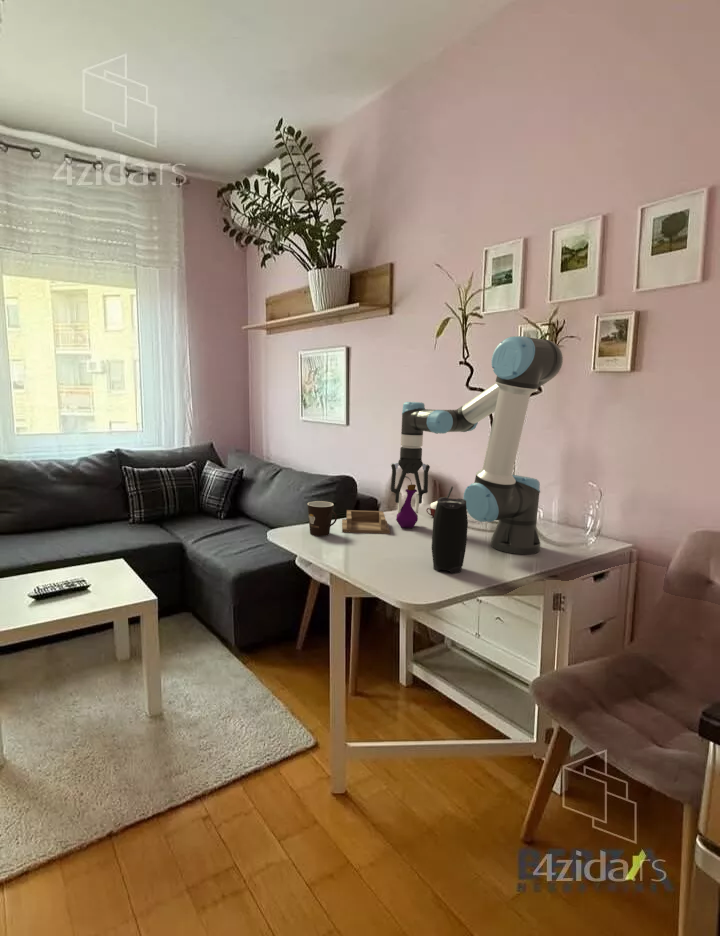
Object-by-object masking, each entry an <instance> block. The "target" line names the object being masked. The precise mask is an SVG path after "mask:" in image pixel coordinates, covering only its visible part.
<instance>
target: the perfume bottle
mask: <svg viewBox="0 0 720 936" xmlns="http://www.w3.org/2000/svg"><path fill="white" fill-rule="evenodd" d="M405 478H406V479H408V480H409V481H410V484H408V485H407V489H405V492H406V493H407V495H406V498H405V500H404V502H403V504H402V505H401V512H400V513H398V512H397V514H396V518H395V521H396V523H398V525H399V526H400V528H402V529H405V528H406V529H410V528H411V529H413V528H414V527H415V525H416V524H417V522H418V520H419V516H418V513H416V512H415V509H414V508H413V506H412V500H413V497H414V495H415V494H416V493H418V489H417V485H416V483H415V484H412V480H411V478H410V477H409V476H407V475H406V476H405Z"/></svg>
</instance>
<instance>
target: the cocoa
mask: <svg viewBox="0 0 720 936" xmlns="http://www.w3.org/2000/svg"><path fill="white" fill-rule="evenodd" d="M453 489H454V487H453V486H451V487H450V489H449V491H448V494H447V496H446V498H448V499H450V495H451V494H452V491H453ZM437 503H438V500H436V501H434V502H431V503H430V507H428V508H426V509H425V510H426V513H427V514H428V515H429V516H431V517H433V518H434V514H435V510H436V506H437ZM428 510H429V511H430V512H429V511H428Z"/></svg>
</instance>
